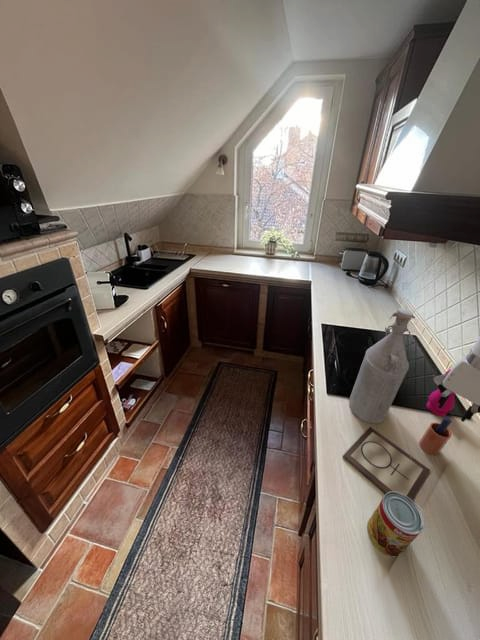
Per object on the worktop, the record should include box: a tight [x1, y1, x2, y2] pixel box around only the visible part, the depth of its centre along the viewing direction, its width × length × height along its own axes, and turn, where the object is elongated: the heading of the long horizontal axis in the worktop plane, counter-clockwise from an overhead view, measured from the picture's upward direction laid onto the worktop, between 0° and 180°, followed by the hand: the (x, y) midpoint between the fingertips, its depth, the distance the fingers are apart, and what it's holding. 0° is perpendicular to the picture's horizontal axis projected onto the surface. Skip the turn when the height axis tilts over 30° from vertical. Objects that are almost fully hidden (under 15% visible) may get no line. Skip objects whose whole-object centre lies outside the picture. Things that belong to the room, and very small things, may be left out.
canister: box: [348, 307, 416, 424], centre depth 82 cm, size 13×17×40 cm
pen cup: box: [418, 422, 452, 456], centre depth 77 cm, size 5×5×9 cm
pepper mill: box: [425, 368, 456, 417], centre depth 87 cm, size 7×7×20 cm
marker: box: [435, 416, 452, 436], centre depth 76 cm, size 2×2×13 cm
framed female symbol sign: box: [342, 426, 431, 502], centre depth 74 cm, size 18×16×1 cm
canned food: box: [366, 491, 425, 557], centre depth 57 cm, size 8×8×12 cm
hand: (452, 411), depth 71 cm, fingers open, 4 cm apart
